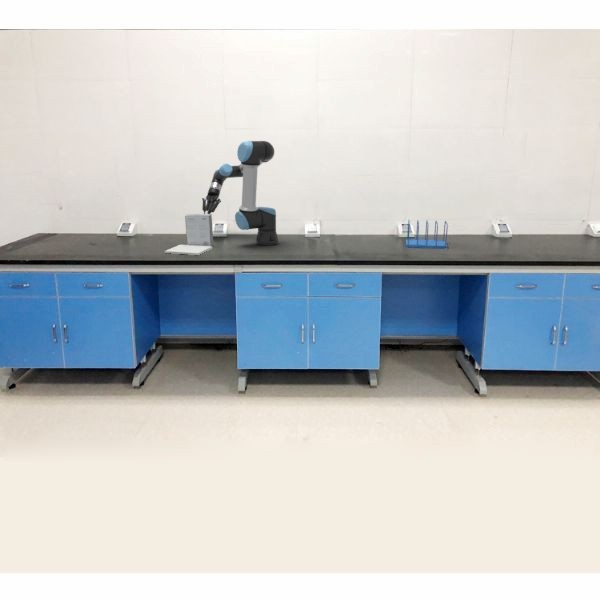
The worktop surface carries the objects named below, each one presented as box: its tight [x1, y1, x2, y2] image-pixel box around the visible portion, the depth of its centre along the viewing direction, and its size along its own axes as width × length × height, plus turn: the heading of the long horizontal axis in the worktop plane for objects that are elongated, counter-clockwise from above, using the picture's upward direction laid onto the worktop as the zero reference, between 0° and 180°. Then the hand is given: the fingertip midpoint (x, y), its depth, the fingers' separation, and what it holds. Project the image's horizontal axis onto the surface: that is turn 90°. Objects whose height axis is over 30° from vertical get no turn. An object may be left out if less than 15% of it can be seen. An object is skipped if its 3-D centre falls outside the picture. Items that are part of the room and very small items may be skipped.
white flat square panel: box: [164, 244, 213, 256], centre depth 358 cm, size 22×20×2 cm
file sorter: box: [405, 219, 449, 249], centre depth 371 cm, size 25×17×15 cm
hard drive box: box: [184, 213, 214, 247], centre depth 369 cm, size 16×8×20 cm, turn 85°
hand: (204, 220), depth 378 cm, fingers closed
